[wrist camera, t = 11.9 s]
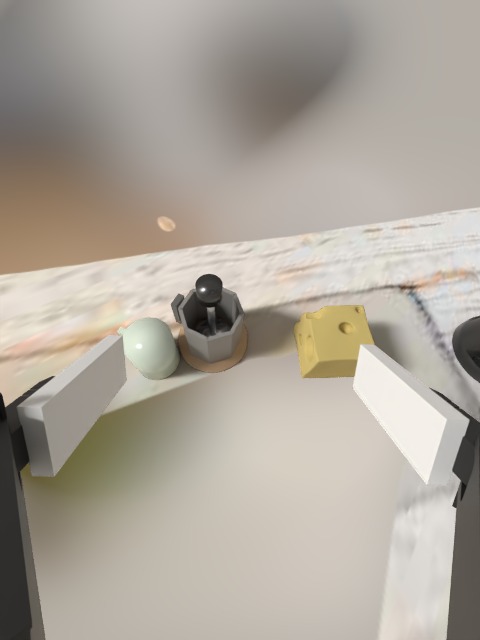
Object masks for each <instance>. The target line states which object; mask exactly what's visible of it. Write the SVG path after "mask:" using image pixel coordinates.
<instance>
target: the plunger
mask: <svg viewBox="0 0 480 640" xmlns="http://www.w3.org/2000/svg"><path fill="white" fill-rule="evenodd" d="M196 292H197V299H198V302H199V303H200V304H201V305H202V306H204V307H207V313H208V319H206V320H204V321H202V322H201V323H200V324H199V325H198V326H197V328H196V332H198V333H200V334H202V335H204V336H206V337H210V336H214V335H217V334H221V333H224V332H228V331H230V328H229V326H228V325H227V324H226V323H225V322H224V321H223V320H221V319H218V318H215V307H216V306H218V305H219V304H220V303H221V301H222V297H223V295H222V281H221V279H220V278H219V277H218V276H216V275H213V274H206V275H203V276H201V277H199V278H198V280H197V281H196Z"/></svg>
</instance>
